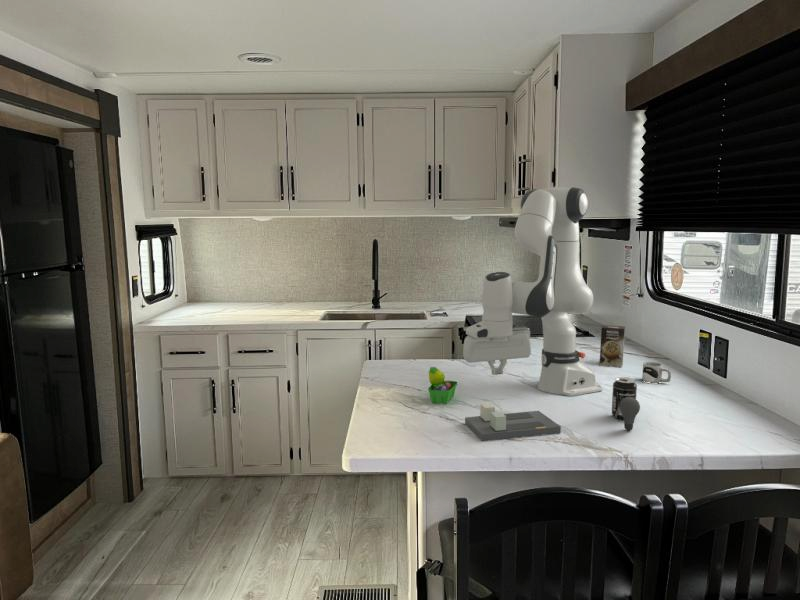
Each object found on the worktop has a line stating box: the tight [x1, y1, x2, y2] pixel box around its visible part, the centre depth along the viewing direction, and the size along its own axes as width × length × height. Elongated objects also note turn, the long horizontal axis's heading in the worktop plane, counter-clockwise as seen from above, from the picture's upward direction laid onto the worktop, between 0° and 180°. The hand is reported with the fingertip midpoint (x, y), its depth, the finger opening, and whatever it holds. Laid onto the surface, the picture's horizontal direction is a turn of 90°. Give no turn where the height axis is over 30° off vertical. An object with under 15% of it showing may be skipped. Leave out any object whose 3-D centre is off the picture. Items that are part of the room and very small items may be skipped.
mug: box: [642, 361, 672, 383], centre depth 219 cm, size 10×7×7 cm, turn 47°
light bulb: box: [619, 397, 641, 432], centre depth 171 cm, size 6×6×10 cm
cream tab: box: [479, 402, 496, 421], centre depth 176 cm, size 3×4×4 cm
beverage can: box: [611, 376, 638, 421], centre depth 182 cm, size 7×7×12 cm
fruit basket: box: [427, 366, 458, 405], centre depth 201 cm, size 11×9×11 cm
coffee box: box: [598, 324, 626, 368], centre depth 243 cm, size 9×6×16 cm
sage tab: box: [491, 411, 506, 431], centre depth 169 cm, size 3×4×4 cm
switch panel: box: [464, 410, 562, 442], centre depth 174 cm, size 24×14×2 cm, turn 103°
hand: (497, 374), depth 175 cm, fingers closed
